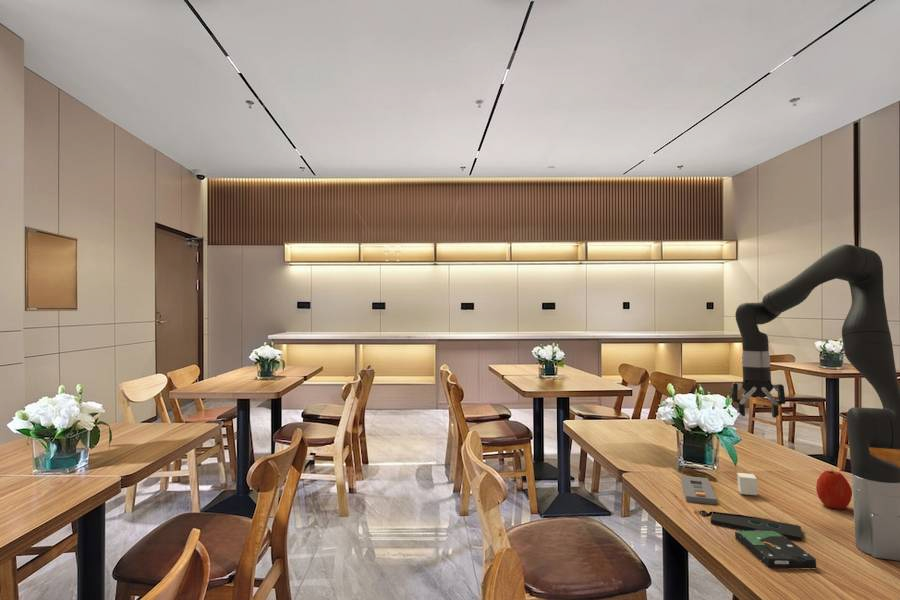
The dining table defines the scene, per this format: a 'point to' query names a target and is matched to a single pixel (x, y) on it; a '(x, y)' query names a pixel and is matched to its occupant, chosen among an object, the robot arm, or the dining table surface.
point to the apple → (834, 490)
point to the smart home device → (756, 524)
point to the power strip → (698, 490)
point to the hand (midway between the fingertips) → (758, 416)
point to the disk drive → (775, 549)
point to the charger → (747, 484)
